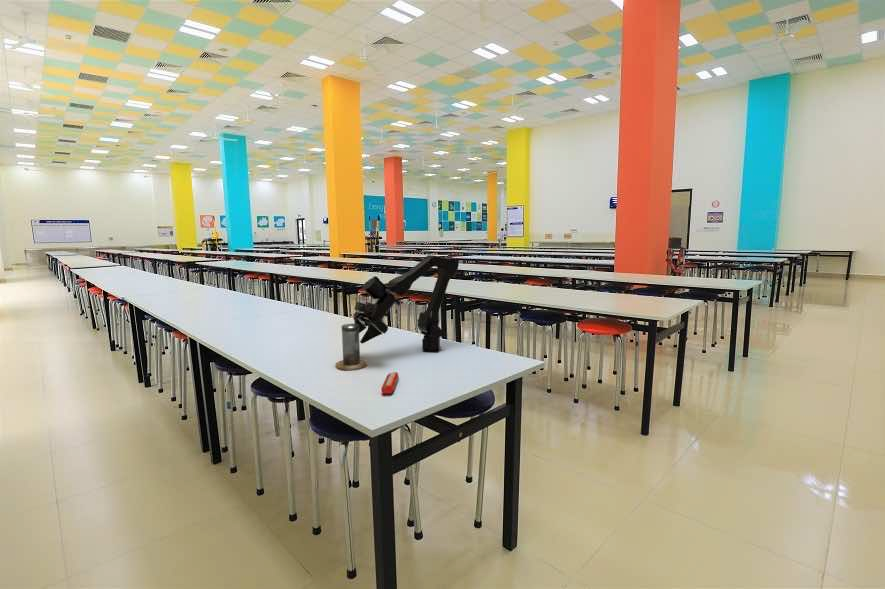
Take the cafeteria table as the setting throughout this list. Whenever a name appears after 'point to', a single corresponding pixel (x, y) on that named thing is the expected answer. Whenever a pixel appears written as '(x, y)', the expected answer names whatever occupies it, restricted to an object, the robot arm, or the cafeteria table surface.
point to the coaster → (350, 368)
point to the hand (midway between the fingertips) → (355, 340)
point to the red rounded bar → (389, 383)
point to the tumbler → (350, 344)
